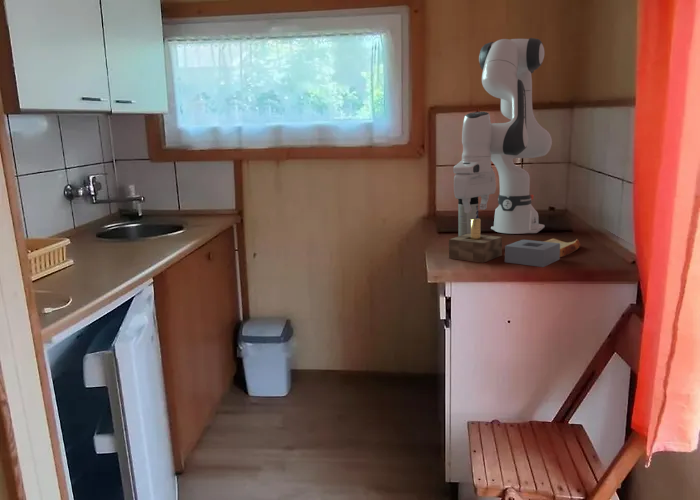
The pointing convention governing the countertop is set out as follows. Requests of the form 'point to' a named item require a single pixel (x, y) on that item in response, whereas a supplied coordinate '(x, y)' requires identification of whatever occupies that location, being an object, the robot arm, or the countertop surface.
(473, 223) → the brass pin
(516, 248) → the slate socket block
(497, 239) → the tan wooden mount
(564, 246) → the slice of bread
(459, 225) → the spray can
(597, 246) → the countertop surface
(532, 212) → the robot arm
